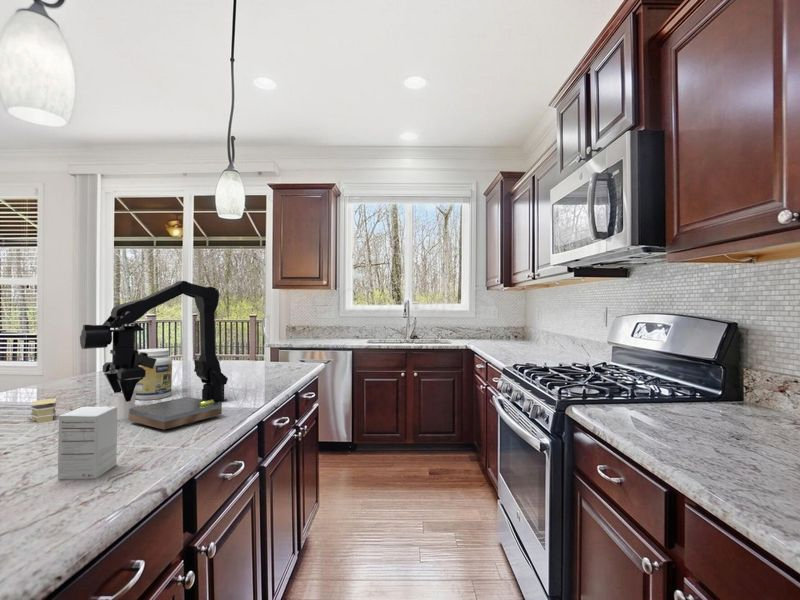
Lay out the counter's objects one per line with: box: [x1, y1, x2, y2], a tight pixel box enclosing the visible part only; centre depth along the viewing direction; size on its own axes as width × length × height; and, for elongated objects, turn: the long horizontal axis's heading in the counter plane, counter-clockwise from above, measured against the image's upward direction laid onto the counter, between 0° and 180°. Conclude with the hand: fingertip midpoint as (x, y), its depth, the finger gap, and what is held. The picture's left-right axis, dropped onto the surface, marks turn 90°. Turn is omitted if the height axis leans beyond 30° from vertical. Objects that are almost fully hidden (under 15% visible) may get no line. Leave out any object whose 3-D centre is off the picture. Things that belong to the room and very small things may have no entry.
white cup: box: [108, 391, 136, 421], centre depth 127 cm, size 7×7×7 cm
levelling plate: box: [129, 396, 223, 422], centre depth 124 cm, size 18×16×2 cm
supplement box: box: [57, 406, 118, 480], centre depth 87 cm, size 7×7×13 cm
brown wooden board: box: [128, 407, 223, 430], centre depth 124 cm, size 18×16×3 cm
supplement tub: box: [134, 347, 173, 401], centre depth 153 cm, size 12×12×17 cm
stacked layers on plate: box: [29, 398, 57, 424], centre depth 123 cm, size 10×9×6 cm
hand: (123, 398), depth 127 cm, fingers open, 9 cm apart
